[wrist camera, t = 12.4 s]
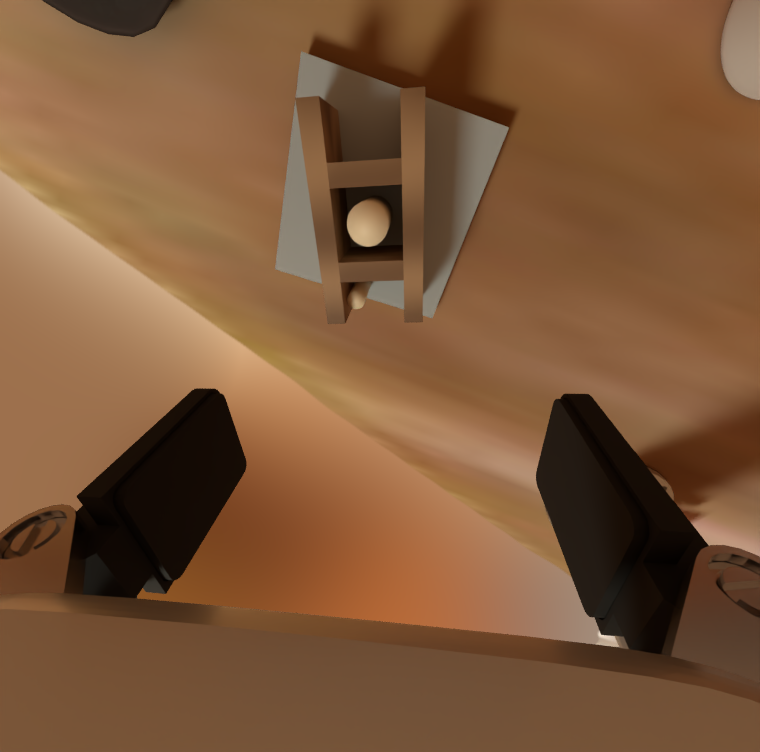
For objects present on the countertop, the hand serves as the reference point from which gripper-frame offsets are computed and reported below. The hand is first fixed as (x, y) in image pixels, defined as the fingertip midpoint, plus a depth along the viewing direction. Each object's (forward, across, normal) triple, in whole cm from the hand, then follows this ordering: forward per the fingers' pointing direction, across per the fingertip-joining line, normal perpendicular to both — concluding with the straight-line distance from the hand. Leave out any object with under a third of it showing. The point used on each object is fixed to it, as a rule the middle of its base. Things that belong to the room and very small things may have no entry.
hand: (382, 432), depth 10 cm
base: (+20, +2, -4) cm, 20 cm away
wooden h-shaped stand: (+18, +2, -4) cm, 19 cm away
